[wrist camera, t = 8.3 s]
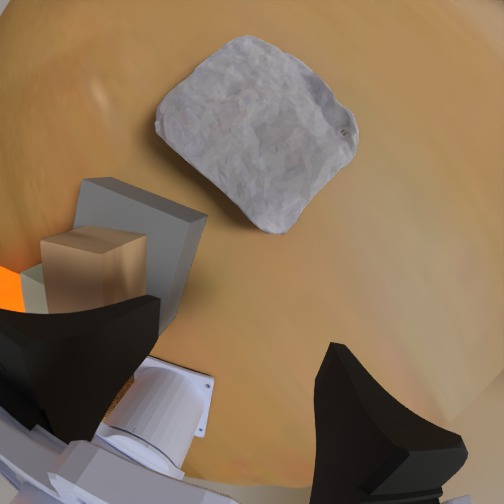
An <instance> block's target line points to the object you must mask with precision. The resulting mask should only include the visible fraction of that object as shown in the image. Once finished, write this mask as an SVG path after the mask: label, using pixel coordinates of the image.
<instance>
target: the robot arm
mask: <svg viewBox="0 0 504 504" xmlns="http://www.w3.org/2000/svg"><path fill="white" fill-rule="evenodd" d="M160 306H161V298H158V297H155V296H152V295H143V296H139V297H136V298H132V299H129V300H125V301H122V302H118V303H115V304H111V305H107V306H103V307H99V308H95V309H91V310H85V311H79V312H71V313H55V314H38V313H25V312H18V311H12V310H6V309H1V308H0V474H1V475H2V476H3V477H4V478H5V479H6V480H7V481H8V482H9V483H10V484H11V485H12V486H13V487H15V488H16V489H17V490H18V491H19V492H18V494H17V495H16V496H15V497H14V499H13V500H12V501H11V503H10V504H241V503H239V502H238V501H236V500H235V499H233V498H232V497H230V496H228V495H225V494H222V493H219V492H216V491H213V490H210V489H208V488H205V487H201V486H198V485H195V484H191V483H188V482H185V481H182V478H183V476H184V472H183V471H181V470H180V468H181V466H182V464H183V461H184V459H185V456H186V454H187V452H188V449H189V447H190V444H191V442H192V440H193V437H194V436H198V437H204V435H205V430H206V424H207V419H208V413H209V408H210V402H211V397H212V392H213V386H214V379H213V378H212V377H210V376H207V375H204V374H201V373H197V372H194V371H191V370H188V369H185V368H182V367H179V366H176V365H173V364H170V363H167V362H164V361H161V360H159V359H156V358H153V357H150V356H148V355H149V353H150V352H151V350H152V348H153V347H154V345H155V343H156V341H157V340H158V337H159V320H160ZM133 373H134V383H133V384H132V385H131V387H130V388H129V389H128V391H127V392H126V393H125V395H124V396H123V397H122V398H121V400H120V401H119V402H118V404H117V405H116V406H115V408H114V409H113V410H112V412H111V413H110V414H109V416H108V417H107V418H106V420H105V421H104V422H101V421H102V419H103V417H104V416H105V414H106V412H107V410H108V408H109V407H110V405H111V403H112V402H113V400H114V399H115V397H116V395H117V394H118V392H119V391H120V390H121V388H122V387H123V386H124V384H125V383H126V382H127V381H128V380H129V378H130V377H131V376H132V375H133ZM207 384H208V385H210V386H208V385H207ZM314 413H315V428H316V459H315V469H314V477H313V485H312V491H311V497H310V503H309V504H440V503H439V499H438V497H441V496H442V494H443V491H442V487H441V486H442V485H443V484H445V483H446V482H447V481H448V480H449V479H450V478H451V477H452V476H453V475H454V474H456V472H458V471H459V469H460V468H461V467H462V466H463V465H464V463H465V461H466V459H467V456H468V452H467V449H466V447H465V445H464V442H463V440H462V438H461V436H460V435H458V434H455V433H453V432H450V431H448V430H445V429H443V428H441V427H438V426H436V425H434V424H432V423H431V422H429V421H427V420H425V419H423V418H422V417H420V416H418V415H417V414H415V413H414V412H412V411H411V410H409V409H408V408H406V407H405V406H404V405H402V404H401V403H400V402H398V401H397V400H396V399H395V398H394V397H392V396H391V395H390V394H389V393H388V392H387V391H386V390H385V389H384V388H383V387H382V386H381V385H380V384H379V383H378V382H377V381H376V380H375V379H374V378H373V377H372V376H371V375H370V374H369V373H368V371H367V370H366V369H365V368H364V367H363V366H362V364H361V363H360V362H359V361H358V360H357V358H356V357H355V356H354V355H353V353H352V352H351V351H350V350H349V349H348V348H347V347H346V346H345V345H344V344H339V343H334V342H330V345H329V347H328V350H327V352H326V355H325V357H324V360H323V362H322V364H321V367H320V369H319V371H318V374H317V376H316V378H315V387H314ZM441 504H473V502H472V499H471V496H470V495H465V496H462V497H458V498H454V499H450V500H447V501H445V502H443V503H441Z"/></svg>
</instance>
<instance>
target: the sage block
mask: <svg viewBox="0 0 504 504" xmlns="http://www.w3.org/2000/svg"><path fill="white" fill-rule="evenodd" d="M20 280H21V289H22V296H23V303H24V309H25V313H38V314H49V313H48V307H47V301H46V294H45V287H44V279H43V270H42V263H41V264H38V265H36V266H34V267H31V268H29V269H27V270H25V271H22V272H20Z"/></svg>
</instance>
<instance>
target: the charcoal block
mask: <svg viewBox="0 0 504 504" xmlns="http://www.w3.org/2000/svg"><path fill="white" fill-rule="evenodd" d="M207 217H208V215H206V214H204V213H201V212H199V211H196V210H194V209H191V208H189V207H186V206H184V205H181V204H178V203H176V202H173V201H171V200H168V199H166V198H163V197H161V196H158V195H156V194H153V193H151V192H148V191H145V190H143V189H140V188H138V187H135V186H133V185H130V184H127V183H125V182H122V181H120V180H117V179H114V178H112V177H103V178H88V179H82V183H81V188H80V193H79V197H78V202H77V208H76V213H75V219H74V225H73V230H74V229H77V228H80V227H84V226H87V225H92V226H98V227H104V228H110V229H116V230H122V231H128V232H134V233H140V234H146V235H147V253H146V295H152V296H155V297H158V298H161V306H160V320H159V336H160V335H161V334H162V333H163V331H164V330H165V329H166V328H167V327H168V325H169V324H170V323H171V322H172V321H173V319H174V318H175V317H176V314H177V310H178V307H179V304H180V300H181V297H182V294H183V290H184V287H185V284H186V281H187V277H188V274H189V271H190V268H191V265H192V262H193V259H194V256H195V253H196V250H197V247H198V244H199V241H200V238H201V235H202V232H203V229H204V226H205V223H206V220H207Z"/></svg>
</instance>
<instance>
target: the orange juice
mask: <svg viewBox="0 0 504 504" xmlns="http://www.w3.org/2000/svg"><path fill="white" fill-rule="evenodd" d="M0 308H1V309H6V310H12V311H18V312H25V309H24V303H23V296H22V289H21V280H20V275H18V274H16V273H14V272H12V271H10V270H8V269H5V268H3V267H1V266H0Z"/></svg>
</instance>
